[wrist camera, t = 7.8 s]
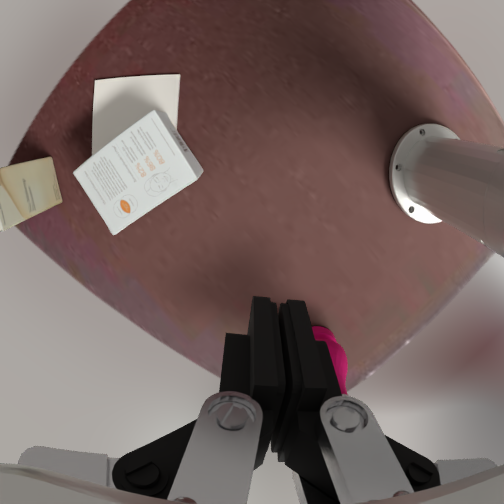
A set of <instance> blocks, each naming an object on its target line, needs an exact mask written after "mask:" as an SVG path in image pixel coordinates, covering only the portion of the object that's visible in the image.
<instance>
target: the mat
mask: <svg viewBox="0 0 504 504" xmlns="http://www.w3.org/2000/svg"><path fill="white" fill-rule="evenodd" d="M179 86H180V74H173V75H149V76H134V77H122V78H112V79H103V80H95V88H94V102H93V124H92V155H94V154H95V153H96V152H97V151H99V150H100V149H101V148H102V147H104V146H105V145H106V144H107V143H109V142H110V141H111V140H112V139H114V138H115V137H116V136H118V135H119V134H120V133H122V132H123V131H124V130H125V129H127V128H128V127H129V126H131V125H132V124H134V123H135V122H136V121H138V120H139V119H140V118H142V117H143V116H145V115H146V114H147V113H149V112H150V111H152V110H157V111H161V112H165V113H167V115H168V117H169V118H170V120H171V122H172V124H173V125H174V127H175V128H176V130H177V116H178V100H179Z"/></svg>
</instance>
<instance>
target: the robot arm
mask: <svg viewBox="0 0 504 504" xmlns="http://www.w3.org/2000/svg"><path fill="white" fill-rule="evenodd" d="M419 131H420V132H419ZM396 165H397V168H395V167H396ZM389 181H390V188H391V191H392V194H393V197H394V199H395V201H396V203H397V204H398V206H399V207H400V208H401V210H402V211H403V212H404V213H406V214H407V215H408V216H409V217H411V218H413V219H414V220H416V221H419V222H422V223H428V224H432V223H438V222H441V221H444V222H445V223H447V224H449V225H451V226H453V227H454V228H456V229H458V230H459V231H461V232H463V233H465V234H466V235H468V236H470V237H471V238H473V239H475V240H476V241H478V242H480V243H481V244H483V245H485V246H486V247H488V248H489V249H491V250H493V251H494V252H496V253H497V254H499V255H501V256H502V257H504V147H500V146H494V145H489V144H483V143H477V142H471V141H465V140H460V138H459V137H458V136H457V135H456V134H455V133H454V132H453V131H451V130H450V129H449V128H447V127H444V126H442V125H438V124H421V125H418V126H415V127H413V128H411V129H410V130H409V131H407V132H406V133H405V134H404V135H403V136H402V137H401V138H400V140H399V141H398V143H397V145H396V146H395V148H394V151H393V154H392V156H391V161H390V166H389ZM270 441H271V451H272V452H278V462H285V465H286V466H288V467H289V468H291V469H292V470H293V472H292V474H293V480H294V484H295V487H296V491H297V495H298V498H299V502H300V504H504V464H503V465H500V466H497V465H496V464H495V463H494V462H493V461H491V460H490V459H486V458H477V459H458V460H437V461H436V462H435V463H432V462H431V461H430V460H429V459H427V458H426V457H424V456H422V455H420V454H418V453H416V452H415V451H412V450H411V449H409V448H407V447H405V446H404V445H402V444H400V443H398V442H396V441H394V440H393V439H391V438H389V437H387V436H386V435H384V433H383V432H382V430H381V428H380V426H379V424H378V423H377V421H376V418H375V417H374V415H373V413H372V411H371V410H370V409H369V407H368V406H367V405H366V404H364V403H363V402H362V401H360V400H358V399H356V398H353V397H348V396H342V393H341V389H340V386H339V382H338V379H337V376H336V372H335V369H334V366H333V362H332V359H331V356H330V352H329V349H328V346H327V343H326V342H325V341H318V340H315V337H314V333H313V330H312V326H311V322H310V319H309V315H308V311H307V308H306V304H305V301H299V300H287V302H286V304H284V303H281V304H280V307H279V312H278V313H277V305H276V303H273V302H271V301H270V298H267V297H257V296H253V299H252V306H251V313H250V320H249V327H248V334H247V335H242V334H232V333H226V337H225V346H224V354H223V363H222V372H221V382H220V390H219V393H216V394H214V395H212V396H210V397H209V398H208V399H207V400H206V401H205V403H204V404H203V406H202V408H201V411H200V414H199V417H198V419H196V420H194V421H192V422H191V423H189V424H187V425H185V426H183V427H181V428H179V429H177V430H175V431H173V432H171V433H169V434H167V435H165V436H163V437H161V438H159V439H157V440H155V441H153V442H151V443H149V444H147V445H145V446H143V447H141V448H138V449H136V450H134V451H132V452H130V453H127V454H126V455H124V456H122V457H121V458H109V457H108V455H107V454H97V453H87V452H77V451H69V450H62V449H55V448H49V447H41V446H34V447H31V448H29V449H27V450H25V452H23V453H22V454H21V456H20V459H19V461H18V464H4V463H0V504H247V499H248V494H249V489H250V484H251V479H252V474H253V471H254V470H255V469H256V468H258V467H259V466H260V465H261V464H263V460H264V457H265V454H266V452H267V450H268V447H269V443H270Z"/></svg>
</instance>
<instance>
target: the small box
mask: <svg viewBox="0 0 504 504" xmlns="http://www.w3.org/2000/svg"><path fill="white" fill-rule="evenodd" d="M202 173H203V169H202V167H201V165H200V164H199V162H198V161H197V159H196V158H195V157H194V155H193V154H192V152H191V151H190V149H189V148H188V146H187V145H186V143H185V142H184V140H183V139H182V137H181V136H180V134H179V133H178V131H177V130H176V128H175V127H174V125H173V124H172V122H171V120H170V118H169V117H168V115H167V113H165V112H161V111H157V110H152V111H150V112H149V113H147V114H146V115H145V116H143V117H142V118H140V119H139V120H138V121H136V122H135V123H134V124H132V125H131V126H129V127H128V128H127V129H125V130H124V131H123V132H122V133H120V134H119V135H118V136H116V137H115V138H114V139H112V140H111V141H110V142H109V143H107V144H106V145H105V146H104V147H102V148H101V149H100V150H99V151H97V152H96V153H95V154H94V155H92V156H91V157H90V158H89V159H87V160H86V161H85V162H84V163H83V164H82V165H81V166H79V167H78V168H77V169H76V170H75V171H74V172H73V174H74V175H75V177H76V179H77V180H78V181H79V182H80V184H81V186H82V187H83V189H84V190H85V192H86V193H87V195H88V197H89V198H90V200H91V201H92V203H93V204H94V206H95V207H96V209H97V210H98V212H99V213H100V215H101V217H102V218H103V220H104V221H105V223H106V224H107V226H108V228H109V230H110V232H111V233H112V234H113V235H115V234H117V233H118V232H120V231H121V230H122V229H124V228H125V227H127V226H128V225H129V224H131V223H132V222H134V221H135V220H137V219H138V218H140V217H141V216H143V215H144V214H145V213H147V212H148V211H150V210H151V209H153V208H154V207H156V206H157V205H159V204H160V203H162V202H163V201H165V200H166V199H168V198H169V197H171V196H173V195H174V194H176V193H177V192H179V191H180V190H182V189H183V188H185V187H187V186H188V185H190V184H191V183H193V182H195V181H196V180H197V179H198V178H199V177H200V175H201V174H202Z"/></svg>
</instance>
